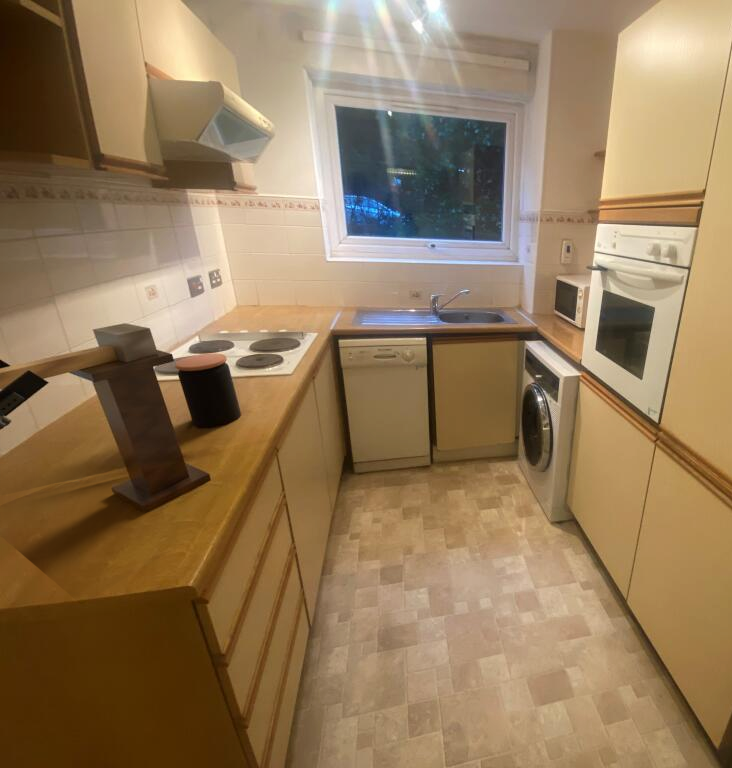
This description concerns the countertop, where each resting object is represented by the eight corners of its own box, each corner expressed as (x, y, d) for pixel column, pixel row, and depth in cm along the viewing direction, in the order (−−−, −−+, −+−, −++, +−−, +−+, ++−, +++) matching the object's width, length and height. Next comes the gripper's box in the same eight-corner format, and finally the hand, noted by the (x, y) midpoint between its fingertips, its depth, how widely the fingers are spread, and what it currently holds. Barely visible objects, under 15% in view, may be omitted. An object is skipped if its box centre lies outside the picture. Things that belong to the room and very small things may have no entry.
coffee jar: (249, 413, 120) (233, 352, 113) (232, 432, 110) (214, 366, 103) (206, 416, 118) (188, 354, 111) (186, 435, 108) (165, 368, 102)
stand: (145, 512, 82) (91, 374, 71) (113, 494, 87) (58, 362, 76) (211, 479, 91) (172, 353, 81) (179, 464, 96) (138, 344, 86)
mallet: (-2, 395, 63) (-18, 363, 61) (-26, 386, 66) (-42, 355, 64) (158, 354, 80) (149, 328, 78) (133, 348, 83) (125, 323, 82)
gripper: (-159, 504, 49) (27, 366, 59) (-200, 449, 59) (-36, 340, 70) (-76, 529, 54) (80, 399, 65) (-128, 475, 65) (14, 370, 76)
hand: (20, 368), depth 68 cm, fingers open, 13 cm apart
